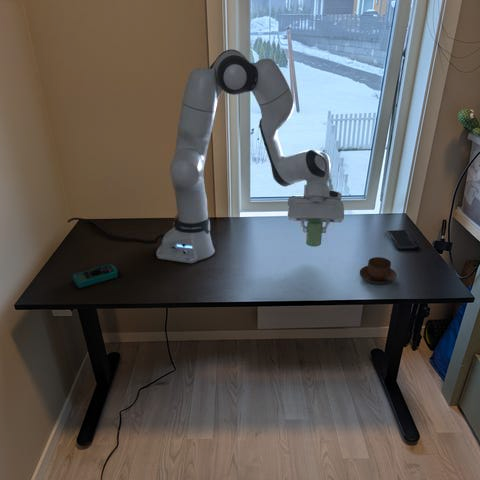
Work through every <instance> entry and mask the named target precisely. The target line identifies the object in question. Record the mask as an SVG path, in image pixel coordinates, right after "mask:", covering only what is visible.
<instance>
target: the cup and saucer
mask: <svg viewBox="0 0 480 480" xmlns="http://www.w3.org/2000/svg"><path fill="white" fill-rule="evenodd" d="M391 265H392V262H391V260H390V259H388V258H386V257H380V256H375V257H371V258H369V260H368V262H367V265H365V266H363V267H361V269H360V270H359V275H360V277H361V278H362V279H363V280H364V281H366V282H367V283H371V284H376V285H387V284H389V283H391V282H393V281H395V280H396V278H397V272H396V271H395V270H394V269H392V268H391Z"/></svg>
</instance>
